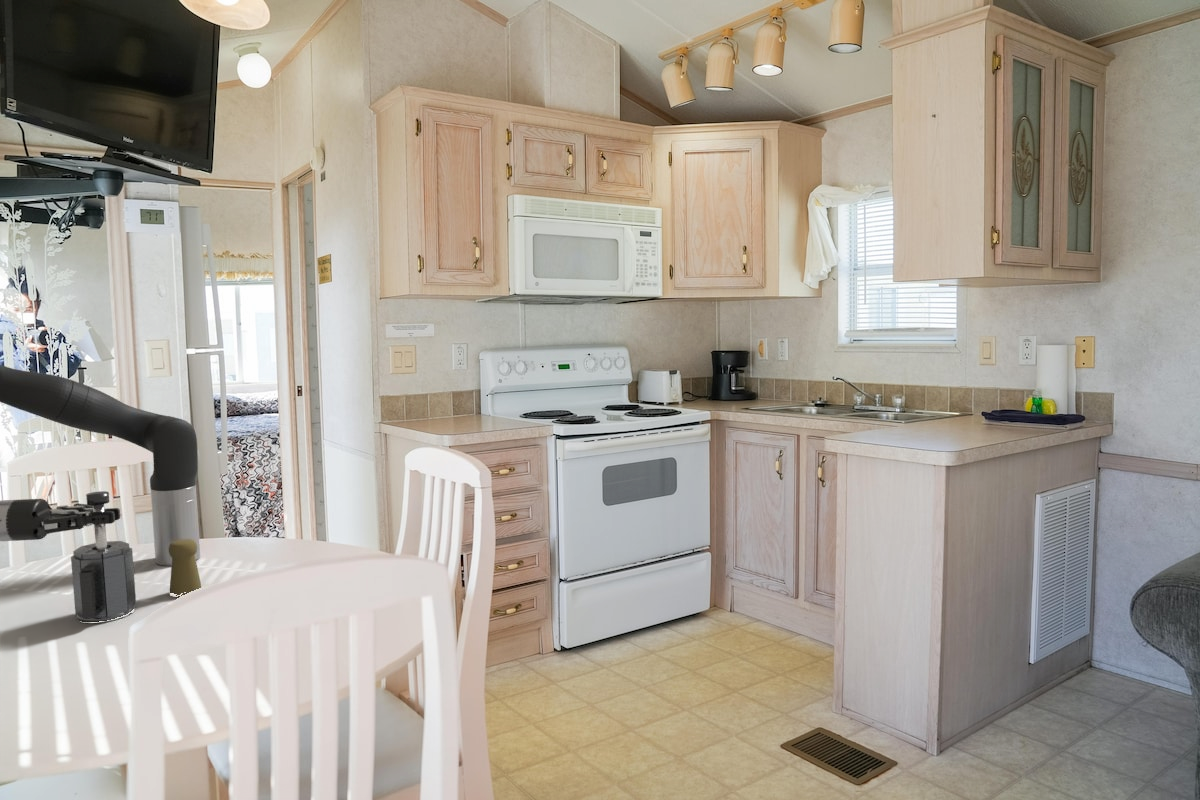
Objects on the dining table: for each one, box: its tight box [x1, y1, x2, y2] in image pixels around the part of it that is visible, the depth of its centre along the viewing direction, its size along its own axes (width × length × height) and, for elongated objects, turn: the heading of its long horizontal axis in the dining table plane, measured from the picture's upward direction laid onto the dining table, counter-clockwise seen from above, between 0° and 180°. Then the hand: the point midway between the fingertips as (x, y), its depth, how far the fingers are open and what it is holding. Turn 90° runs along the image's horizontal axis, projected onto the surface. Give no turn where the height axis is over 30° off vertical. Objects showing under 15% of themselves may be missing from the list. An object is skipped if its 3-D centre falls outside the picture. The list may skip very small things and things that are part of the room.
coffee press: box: [70, 540, 137, 622], centre depth 153 cm, size 12×9×13 cm
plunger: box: [85, 490, 110, 550], centre depth 154 cm, size 6×6×21 cm
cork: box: [169, 539, 202, 599], centre depth 167 cm, size 6×6×11 cm
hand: (116, 515), depth 154 cm, fingers closed on plunger, 2 cm apart
